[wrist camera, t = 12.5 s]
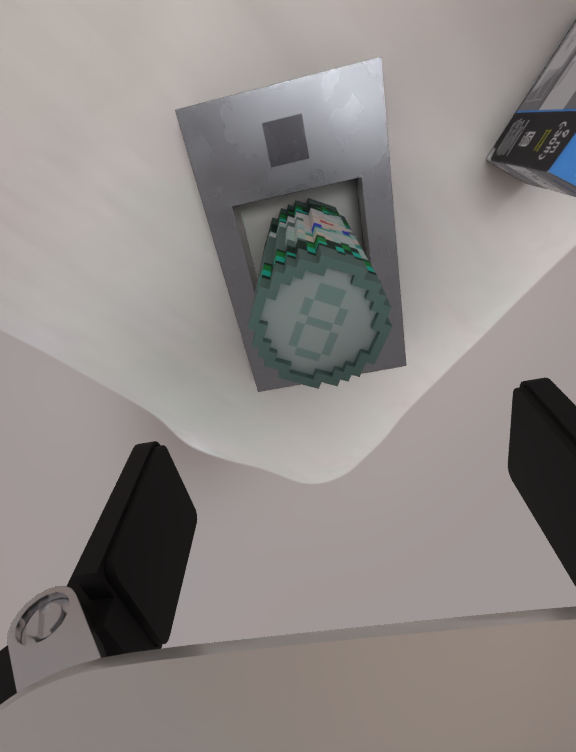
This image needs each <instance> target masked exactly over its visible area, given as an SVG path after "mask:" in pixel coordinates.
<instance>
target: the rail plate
mask: <svg viewBox="0 0 576 752" xmlns="http://www.w3.org/2000/svg"><path fill="white" fill-rule="evenodd" d="M175 112H176V115H177V118H178V122H179V125H180V129H181V132H182V135H183V139H184V142H185V146H186V149H187V152H188V156H189V159H190V162H191V166H192V169H193V173H194V176H195V179H196V183H197V186H198V190H199V193H200V196H201V200H202V203H203V207H204V210H205V213H206V217H207V220H208V223H209V227H210V230H211V234H212V237H213V240H214V244H215V247H216V251H217V254H218V257H219V261H220V264H221V268H222V271H223V274H224V278H225V281H226V285H227V288H228V291H229V295H230V298H231V301H232V305H233V308H234V312H235V315H236V318H237V322H238V325H239V329H240V332H241V335H242V339H243V342H244V346H245V349H246V352H247V356H248V359H249V363H250V366H251V369H252V373H253V376H254V379H255V383H256V386H257V390H258V392H261V391H266V390H272V389H278V388H283V387H289V386H295V385H300V384H299V383H295V382H292V381H288V380H284V379H281V378H278V370H276V369H272V368H269V367H265V366H264V361H265V358H261V357H258V352H259V349H258V348H255V347H252V342H253V336H254V330H251V329H247V328H248V324H249V319H250V314H251V309H252V305H253V300H254V295H255V290H256V286H257V281H258V280H257V276H256V272H255V268H254V264H253V260H252V256H251V252H250V248H249V245H248V241H247V237H246V233H245V229H244V225H243V221H242V217H241V213H240V209H239V205H241V204H245V203H249V202H254V201H258V200H263V199H267V198H271V197H276V196H280V195H285V194H289V193H293V192H298V191H302V190H306V189H311V188H315V187H320V186H324V185H328V184H333V183H337V182H342V181H346V180H350V179H355V178H356V182H357V191H358V199H359V207H360V216H361V224H362V233H363V241H364V249H365V255H366V257H367V258H368V260H369V262H370V264H371V266H372V267H373V269H374V271H375V273H376V274H377V276H378V278H379V280H380V282H381V283H382V288H383V290H384V291H385V293H386V295H387V297H386V298H387V299H388V301H389V303H390V305H391V307H392V308H391V310H390V312H389V315H388V318H389V320H390V322H391V324H392V326H393V327H392V329H391V331H390V333H389V335H388V337H387V339H386V341H385V343H384V346H383V348H382V350H381V352H380V354H379V356H378V358H377V360H376V362H375V364H374V365H373V364H370V363H366V364H365V366H364V368H363V370H362V373H368V372H374V371H379V370H385V369H391V368H396V367H402V366H406V355H405V343H404V331H403V319H402V306H401V294H400V282H399V269H398V257H397V245H396V232H395V220H394V208H393V196H392V183H391V171H390V159H389V146H388V134H387V122H386V110H385V97H384V85H383V73H382V60H381V57H378V58H375V59H371V60H367V61H363V62H359V63H355V64H351V65H347V66H344V67H340V68H336V69H332V70H328V71H324V72H320V73H316V74H312V75H309V76H305V77H301V78H297V79H293V80H289V81H285V82H281V83H278V84H274V85H270V86H266V87H262V88H258V89H254V90H250V91H247V92H243V93H239V94H235V95H231V96H227V97H223V98H219V99H216V100H212V101H208V102H204V103H200V104H196V105H192V106H188V107H185V108H181V109H177V110H175ZM362 373H361V374H362Z"/></svg>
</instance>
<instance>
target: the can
mask: <svg viewBox="0 0 576 752" xmlns="http://www.w3.org/2000/svg"><path fill="white" fill-rule="evenodd" d="M386 297H387V295H386V293H385V291H384V290H383V288H382V283H381V282H380V280H379V278H378V276H377V274H376V273H375V271H374V269H373V267H372V266H371V264H370V262H369V260H368V258H367V257H366V255H365V253H364V251H363V250H362V248H361V246H360V244H359V243H358V241H357V239H356V237H355V235H354V234H353V232H352V230H351V228H350V227H349V225H348V223H347V221H346V219H345V218H344V216H341V215H339V213H338V211H337V210H336V208H335V207H333V206H330V205H327V204H324V203H321V202H318V201H315V200H312V199H309V198H308V201H307V204H305V203H302V202H299V201H295V204H294V206H292V205H289V204H288V208H287V210H285V209H282V208H281V211H280V215H279V218H278V219H275V218H273V219H272V222H271V226H270V229H269V233H268V236H267V240H266V244H265V248H264V252H263V257H262V262H261V267H260V271H259V276H258V281H257V286H256V290H255V295H254V300H253V305H252V309H251V314H250V319H249V324H248V328H247V329H251V330H254V336H253V342H252V347H255V348H258V349H259V352H258V357H261V358H265V361H264V366H265V367H269V368H272V369H276V370H278V378H281V379H284V380H288V381H292V382H295V383H299V384H303V385H306V386H310V387H314V388H318V389H319V386H320V384H321V382H324V383H327V384H331V385H334V386H338V384H339V381H340V379H341V380H344V381H349V379H350V377H351V375H355V376H358V377H360V375H361V373H362V370H363V368H364V366H365V364H366V363H370V364H373V365H374V364H375V362H376V360H377V358H378V356H379V354H380V352H381V350H382V348H383V346H384V343H385V341H386V339H387V337H388V335H389V333H390V331H391V329H392V327H393V326H392V324H391V322H390V320H389V318H388V315H389V312H390V310H391V308H392V307H391V305H390V303H389V301H388V299H387V298H386Z"/></svg>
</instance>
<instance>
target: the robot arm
mask: <svg viewBox="0 0 576 752" xmlns="http://www.w3.org/2000/svg"><path fill="white" fill-rule="evenodd" d="M508 471H509V475H510V477H511V479H512V481H513V483H514V484H515V486H516V488H517V489H518V491H519V493H520V494H521V496H522V497H523V499H524V501H525V503H526V504H527V506H528V508H529V509H530V511H531V513H532V514H533V516H534V518H535V519H536V521H537V523H538V524H539V526H540V527H541V529H542V531H543V533H544V534H545V536H546V538H547V539H548V541H549V543H550V544H551V546H552V548H553V549H554V551H555V553H556V554H557V556H558V558H559V559H560V561H561V563H562V564H563V566H564V568H565V569H566V571H567V573H568V574H569V576H570V578H571V580H572V581H573V583H574V585H575V586H576V406H575V404H574V403H573V402H572V401H571V400H570V399H568V397H567V396H566V395H565V394H564V393H563V392H562V391H561V390H560V389H559V388H558V387H557V386H556V385H555V384H554V383H553V382H552V381H551V380H550V379H548V378H540V379H534V380H528V381H523V382H521V384H520V387H519V388H515V389H514V391H513V400H512V414H511V428H510V443H509V456H508ZM196 524H197V513H196V509H195V507H194V505H193V503H192V501H191V499H190V496H189V494H188V492H187V490H186V488H185V486H184V484H183V482H182V479H181V477H180V475H179V473H178V471H177V469H176V467H175V465H174V462H173V460H172V458H171V456H170V454H169V452H168V449H167V448H166V447H165V446H164V445H162V446H161V445H160V444H159V443H158V442H156V441H154V442H148V443H142V444H137V445H135V447H134V448H133V450H132V452H131V454H130V456H129V458H128V460H127V462H126V464H125V467H124V469H123V471H122V473H121V475H120V477H119V479H118V481H117V483H116V485H115V487H114V489H113V492H112V493H111V495H110V498H109V500H108V502H107V504H106V506H105V508H104V510H103V512H102V514H101V516H100V518H99V520H98V522H97V524H96V527H95V529H94V531H93V533H92V535H91V537H90V539H89V541H88V543H87V545H86V547H85V549H84V551H83V554H82V555H81V557H80V560H79V562H78V564H77V566H76V568H75V570H74V572H73V574H72V576H71V578H70V580H69V582H68V584H67V586H56V587H53V588H50V589H47V590H45V591H43V592H41V593H40V594H38V595H36V596H35V597H34V598H32V599H31V600H30V601H29V602H28V603H26V604H25V606H24V607H23V608H22V609H21V610H20V611H19V612H18V614H17V615H16V617H15V618H14V620H13V621H12V623H11V626H10V628H9V631H8V637H7V644H8V645H7V646H6V647H5V648H3V649H2V650H1V651H0V752H576V607H563V608H550V609H538V610H526V611H516V612H506V613H496V614H485V615H476V616H465V617H455V618H444V619H434V620H425V621H424V620H423V621H414V622H404V623H395V624H384V625H374V626H364V627H355V628H345V629H336V630H326V631H316V632H306V633H297V634H287V635H279V636H269V637H261V638H252V639H241V640H232V641H223V642H214V643H204V644H196V645H187V646H180V647H171V648H163V649H161V648H162V644H166V643H167V641H168V639H169V636H170V633H171V629H172V624H173V620H174V616H175V612H176V607H177V604H178V599H179V595H180V591H181V587H182V582H183V578H184V574H185V570H186V565H187V562H188V557H189V553H190V549H191V545H192V541H193V536H194V532H195V528H196Z"/></svg>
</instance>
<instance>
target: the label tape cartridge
mask: <svg viewBox="0 0 576 752" xmlns="http://www.w3.org/2000/svg"><path fill="white" fill-rule="evenodd" d="M487 161H488V162H490V163H492V164H494V165H495V166H497V167H499V168H500V169H502V170H504V171H506V172H507V173H509V174H511V175H512V176H514V177H516V178H518V179H519V180H521V181H523V182H525V183H526V184H530V185H534V186H537V187H541V188H545V189H549V190H553V191H556V192H560V193H563V194H567V195H571V196H574V197H576V21H575V23H574V25H573V26H572V28H571V29H570V31H569V32H568V34H567V35H566V37H565V38H564V40H563V41H562V43H561V45H560V46H559V48H558V49H557V51H556V52H555V54H554V55H553V57H552V58H551V60H550V62H549V63H548V65H547V66H546V68H545V69H544V71H543V72H542V74H541V75H540V77H539V78H538V80H537V81H536V83H535V85H534V86H533V88H532V89H531V91H530V92H529V94H528V95H527V97H526V98H525V100H524V101H523V103H522V104H521V106H520V107H519V109H518V110H517V112H516V113H515V115H514V117H513V118H512V120H511V121H510V123H509V124H508V126H507V127H506V129H505V130H504V132H503V133H502V135H501V137H500V138H499V140H498V141H497V143H496V144H495V146H494V148H493V149H492V151H491V152H490V154H489V155H488V157H487Z"/></svg>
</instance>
